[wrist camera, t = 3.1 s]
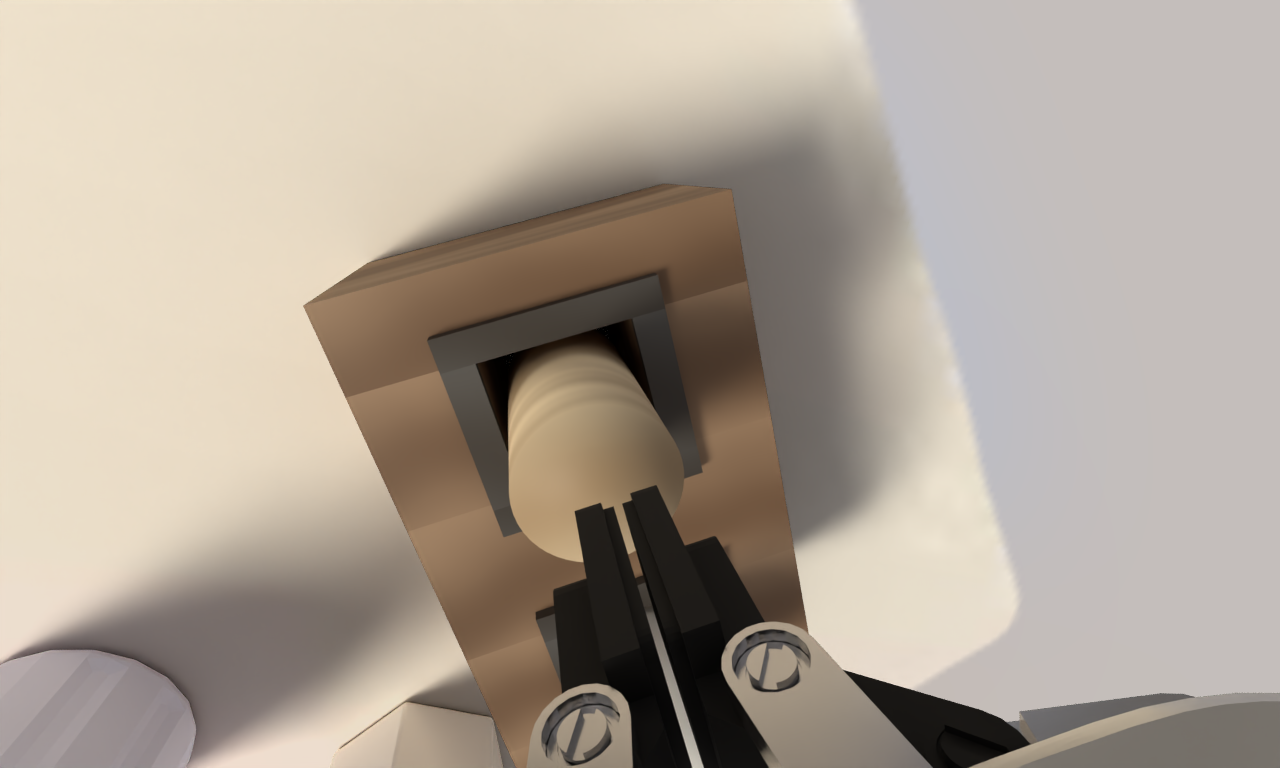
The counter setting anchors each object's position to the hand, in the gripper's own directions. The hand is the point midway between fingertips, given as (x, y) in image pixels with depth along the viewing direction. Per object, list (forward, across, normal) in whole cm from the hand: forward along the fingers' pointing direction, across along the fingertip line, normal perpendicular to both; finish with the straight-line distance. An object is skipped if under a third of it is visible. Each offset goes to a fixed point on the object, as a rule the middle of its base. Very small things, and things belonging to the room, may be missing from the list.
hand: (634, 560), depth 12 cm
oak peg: (+10, 0, -1) cm, 10 cm away
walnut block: (+15, 0, +4) cm, 16 cm away
